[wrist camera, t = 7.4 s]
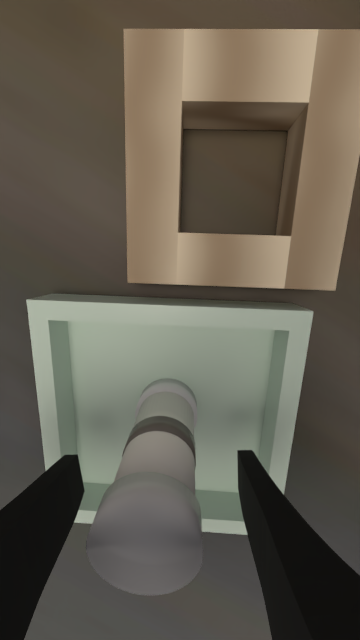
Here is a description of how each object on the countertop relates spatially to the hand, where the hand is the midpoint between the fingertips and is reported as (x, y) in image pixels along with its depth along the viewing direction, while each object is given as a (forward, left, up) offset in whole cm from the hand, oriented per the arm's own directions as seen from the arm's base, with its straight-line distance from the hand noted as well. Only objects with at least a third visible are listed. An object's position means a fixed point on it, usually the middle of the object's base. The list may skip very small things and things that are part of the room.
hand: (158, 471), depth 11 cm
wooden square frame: (-3, -13, -5) cm, 14 cm away
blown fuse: (0, 0, -5) cm, 5 cm away
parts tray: (0, 0, -5) cm, 5 cm away
